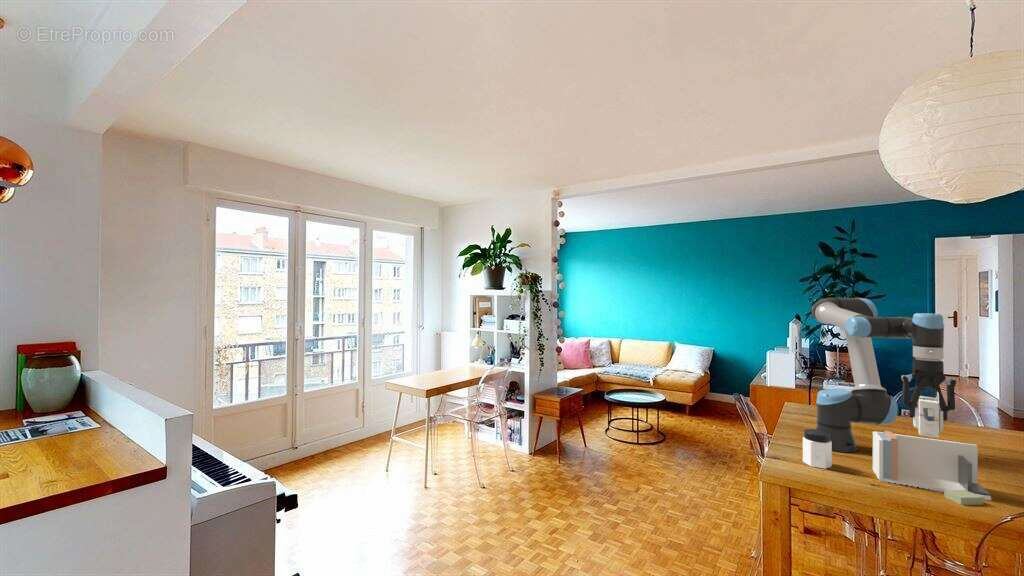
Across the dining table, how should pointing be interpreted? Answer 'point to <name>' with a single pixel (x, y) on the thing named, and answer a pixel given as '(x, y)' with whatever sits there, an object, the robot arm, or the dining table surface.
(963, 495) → the fallen book
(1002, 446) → the dining table surface
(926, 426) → the ink box
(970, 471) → the bookend
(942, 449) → the shelf
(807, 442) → the jar
